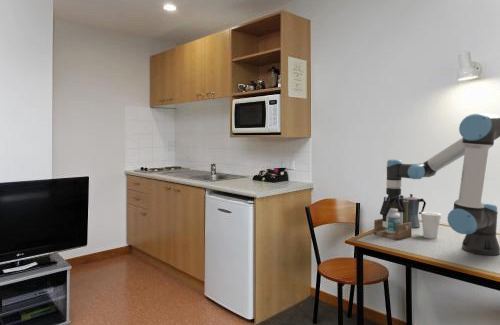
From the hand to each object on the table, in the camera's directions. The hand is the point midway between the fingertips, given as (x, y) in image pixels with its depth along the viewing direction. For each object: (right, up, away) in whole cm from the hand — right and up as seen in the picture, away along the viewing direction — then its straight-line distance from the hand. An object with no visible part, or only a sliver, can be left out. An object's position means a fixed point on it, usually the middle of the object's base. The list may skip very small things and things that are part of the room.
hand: (392, 225), depth 188 cm
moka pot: (+21, -5, +20) cm, 29 cm away
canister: (+10, -5, +15) cm, 18 cm away
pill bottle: (0, -4, 0) cm, 4 cm away
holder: (0, -6, 0) cm, 6 cm away
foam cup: (+20, -6, -2) cm, 21 cm away
